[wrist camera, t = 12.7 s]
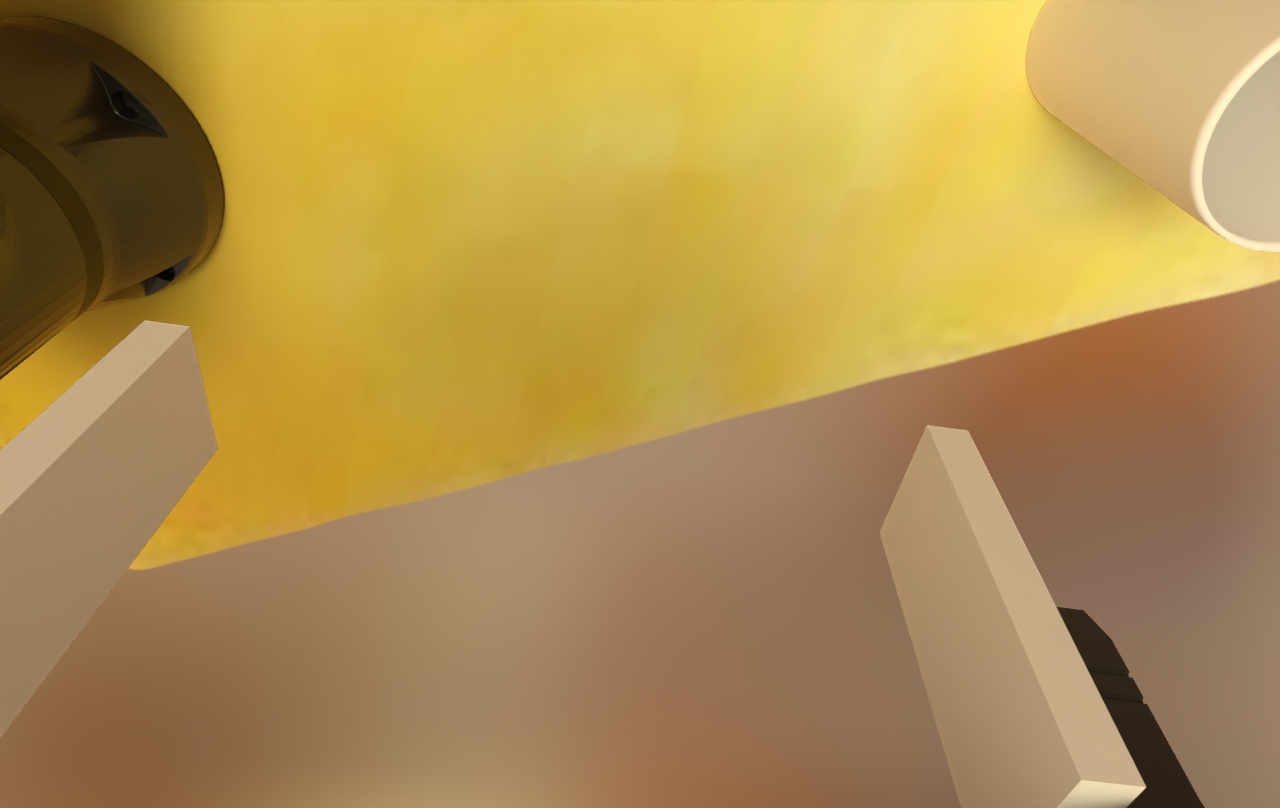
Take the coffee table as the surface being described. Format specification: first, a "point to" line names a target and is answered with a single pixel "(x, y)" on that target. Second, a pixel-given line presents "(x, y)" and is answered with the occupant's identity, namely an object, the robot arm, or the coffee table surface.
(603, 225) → the coffee table surface
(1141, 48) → the cup
